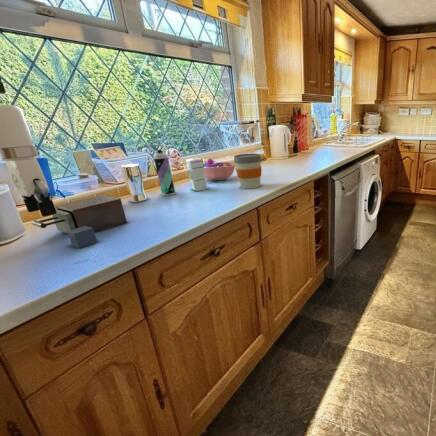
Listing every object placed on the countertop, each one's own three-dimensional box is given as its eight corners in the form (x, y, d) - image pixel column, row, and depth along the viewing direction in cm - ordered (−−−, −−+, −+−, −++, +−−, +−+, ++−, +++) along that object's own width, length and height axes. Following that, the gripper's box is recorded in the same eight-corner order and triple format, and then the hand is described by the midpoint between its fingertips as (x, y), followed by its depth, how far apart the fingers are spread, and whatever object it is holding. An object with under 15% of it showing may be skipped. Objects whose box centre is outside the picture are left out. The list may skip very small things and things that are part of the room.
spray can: (160, 194, 138) (150, 149, 131) (173, 191, 142) (163, 148, 135) (164, 196, 134) (154, 150, 128) (177, 193, 138) (167, 149, 131)
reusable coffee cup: (255, 190, 139) (251, 157, 134) (232, 189, 143) (227, 157, 138) (268, 184, 151) (265, 153, 145) (246, 182, 154) (243, 153, 149)
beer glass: (125, 202, 127) (115, 166, 122) (138, 197, 134) (130, 163, 129) (139, 202, 126) (129, 167, 121) (151, 198, 132) (143, 164, 127)
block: (79, 248, 84) (74, 233, 83) (71, 245, 86) (66, 231, 85) (97, 242, 88) (92, 228, 86) (89, 239, 90) (85, 225, 88)
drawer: (49, 243, 86) (41, 220, 84) (34, 236, 91) (26, 215, 89) (117, 222, 101) (111, 203, 99) (101, 218, 106) (95, 199, 103)
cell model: (226, 184, 153) (223, 161, 149) (192, 183, 157) (188, 161, 154) (243, 177, 168) (240, 156, 164) (211, 176, 173) (208, 156, 169)
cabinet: (81, 236, 92) (72, 210, 89) (64, 230, 98) (55, 205, 95) (127, 222, 103) (120, 198, 100) (109, 217, 109) (102, 194, 106)
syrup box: (207, 188, 145) (202, 158, 140) (195, 191, 141) (189, 160, 136) (203, 187, 149) (197, 157, 144) (191, 189, 145) (185, 159, 140)
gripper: (-11, 154, 83) (14, 213, 89) (12, 156, 75) (38, 221, 81) (24, 150, 89) (46, 205, 95) (49, 152, 81) (71, 212, 87)
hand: (42, 212), depth 88 cm, fingers open, 9 cm apart
